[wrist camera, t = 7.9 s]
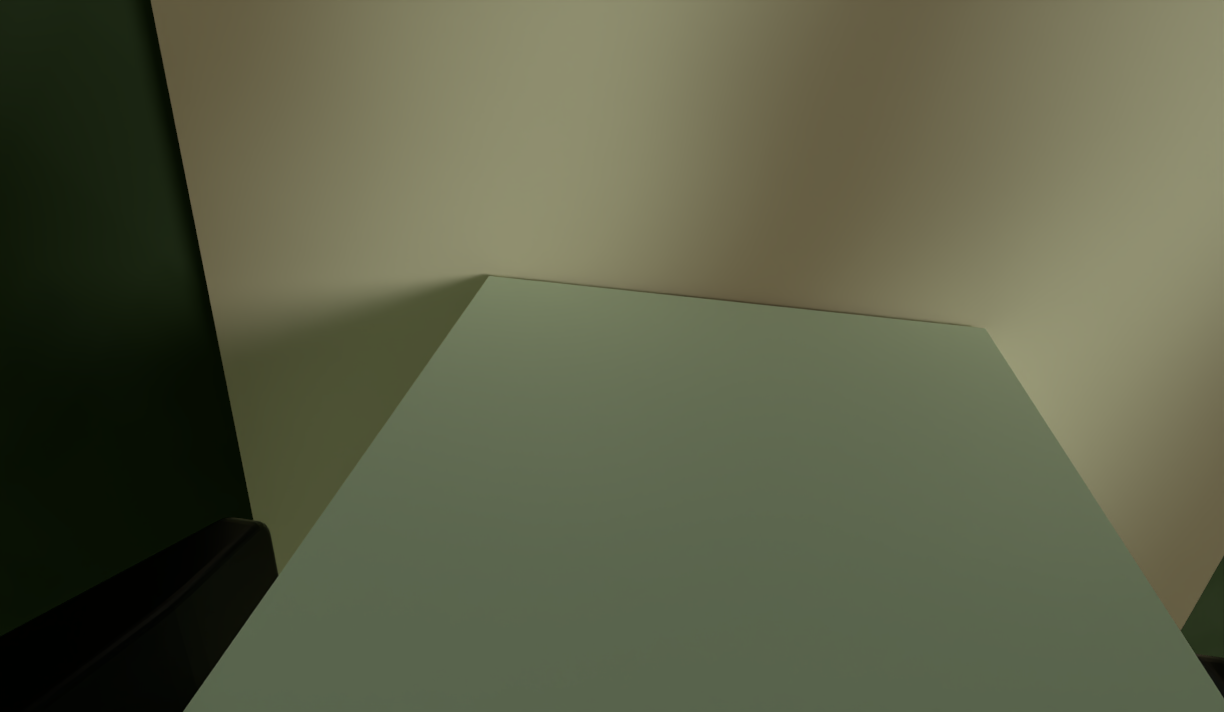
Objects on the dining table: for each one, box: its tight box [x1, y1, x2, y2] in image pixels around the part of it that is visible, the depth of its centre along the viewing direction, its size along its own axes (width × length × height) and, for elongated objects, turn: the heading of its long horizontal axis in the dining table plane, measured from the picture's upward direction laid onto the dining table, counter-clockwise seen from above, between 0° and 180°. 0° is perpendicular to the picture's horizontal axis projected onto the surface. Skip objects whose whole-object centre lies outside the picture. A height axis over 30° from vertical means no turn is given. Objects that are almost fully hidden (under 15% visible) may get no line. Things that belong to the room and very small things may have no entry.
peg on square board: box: [151, 0, 1224, 631], centre depth 7 cm, size 12×12×7 cm
